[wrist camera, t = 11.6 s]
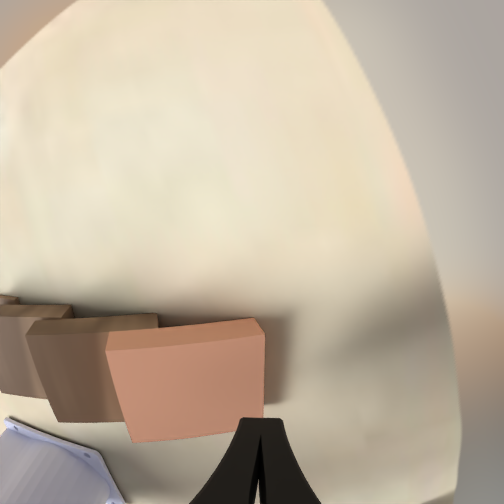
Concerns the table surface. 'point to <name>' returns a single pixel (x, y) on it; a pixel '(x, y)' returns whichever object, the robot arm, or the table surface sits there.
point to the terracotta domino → (188, 378)
